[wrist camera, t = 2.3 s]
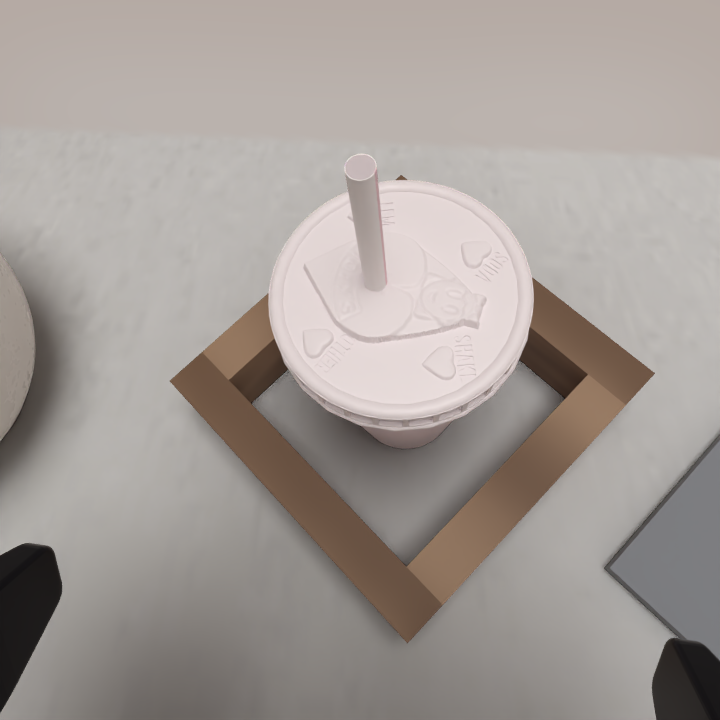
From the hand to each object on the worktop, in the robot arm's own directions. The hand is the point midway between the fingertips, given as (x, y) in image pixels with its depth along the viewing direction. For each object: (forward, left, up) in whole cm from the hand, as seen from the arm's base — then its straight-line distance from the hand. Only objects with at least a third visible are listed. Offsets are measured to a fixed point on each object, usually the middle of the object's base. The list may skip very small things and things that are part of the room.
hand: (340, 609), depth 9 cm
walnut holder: (+5, +4, -13) cm, 15 cm away
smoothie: (+5, +4, -13) cm, 15 cm away
